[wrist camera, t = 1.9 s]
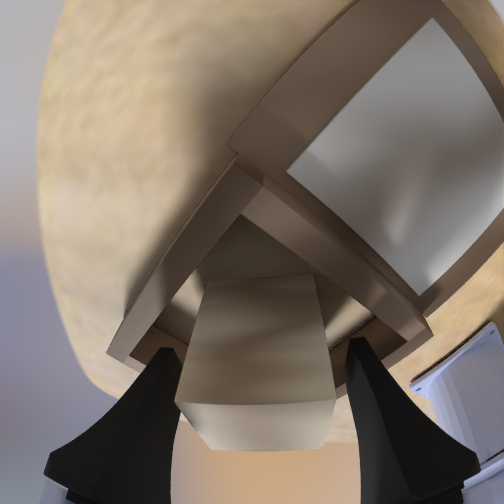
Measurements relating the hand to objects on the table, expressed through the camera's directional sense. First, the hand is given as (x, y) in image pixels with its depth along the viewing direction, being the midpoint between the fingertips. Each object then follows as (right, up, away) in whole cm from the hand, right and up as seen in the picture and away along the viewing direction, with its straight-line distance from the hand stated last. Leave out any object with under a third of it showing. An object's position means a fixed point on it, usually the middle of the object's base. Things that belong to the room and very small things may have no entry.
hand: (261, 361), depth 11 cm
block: (0, +1, +2) cm, 3 cm away
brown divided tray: (+3, +4, 0) cm, 6 cm away
